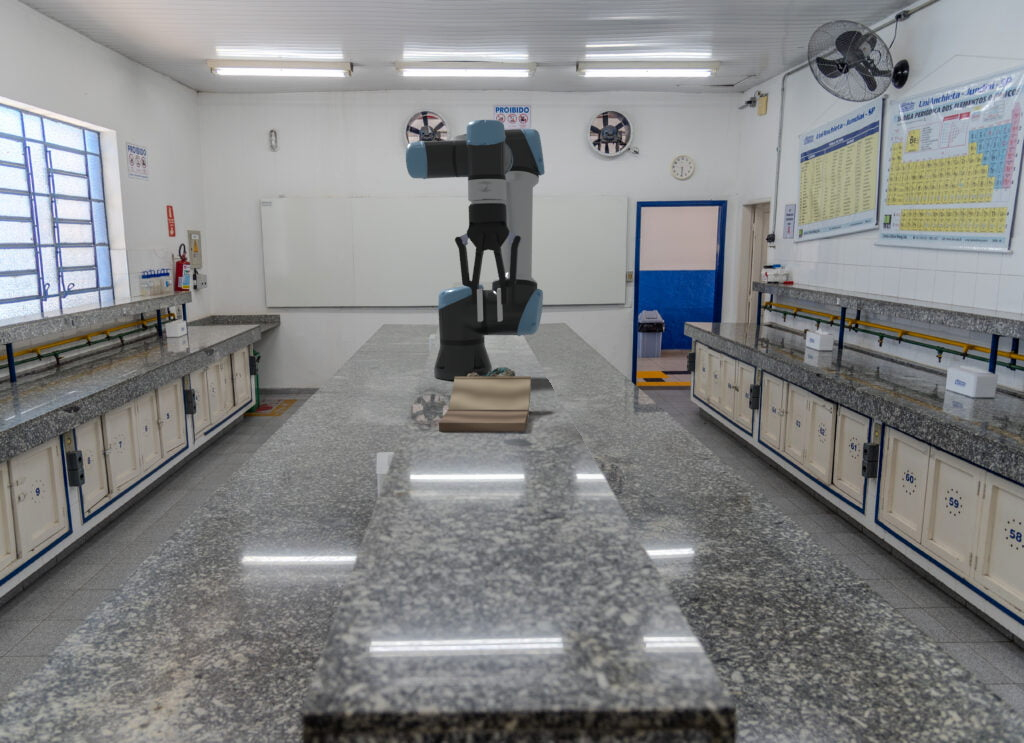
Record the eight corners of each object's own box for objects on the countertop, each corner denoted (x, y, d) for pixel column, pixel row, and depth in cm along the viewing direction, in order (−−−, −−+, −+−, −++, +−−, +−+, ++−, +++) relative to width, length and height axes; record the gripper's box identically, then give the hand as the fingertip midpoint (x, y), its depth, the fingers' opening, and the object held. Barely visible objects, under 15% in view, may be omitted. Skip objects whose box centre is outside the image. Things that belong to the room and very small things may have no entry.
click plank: (455, 381, 149) (454, 376, 148) (531, 381, 147) (530, 376, 146) (449, 414, 141) (448, 409, 140) (528, 415, 140) (528, 409, 139)
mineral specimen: (520, 387, 164) (507, 355, 163) (522, 391, 155) (509, 358, 154) (472, 406, 164) (459, 375, 163) (471, 412, 155) (457, 379, 154)
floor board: (448, 417, 140) (448, 409, 140) (528, 417, 139) (528, 409, 138) (439, 431, 130) (438, 422, 130) (524, 431, 129) (524, 422, 129)
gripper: (442, 203, 136) (447, 323, 140) (527, 201, 134) (529, 322, 139) (449, 204, 143) (453, 319, 148) (529, 202, 142) (531, 318, 146)
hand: (490, 320), depth 143 cm, fingers open, 3 cm apart
